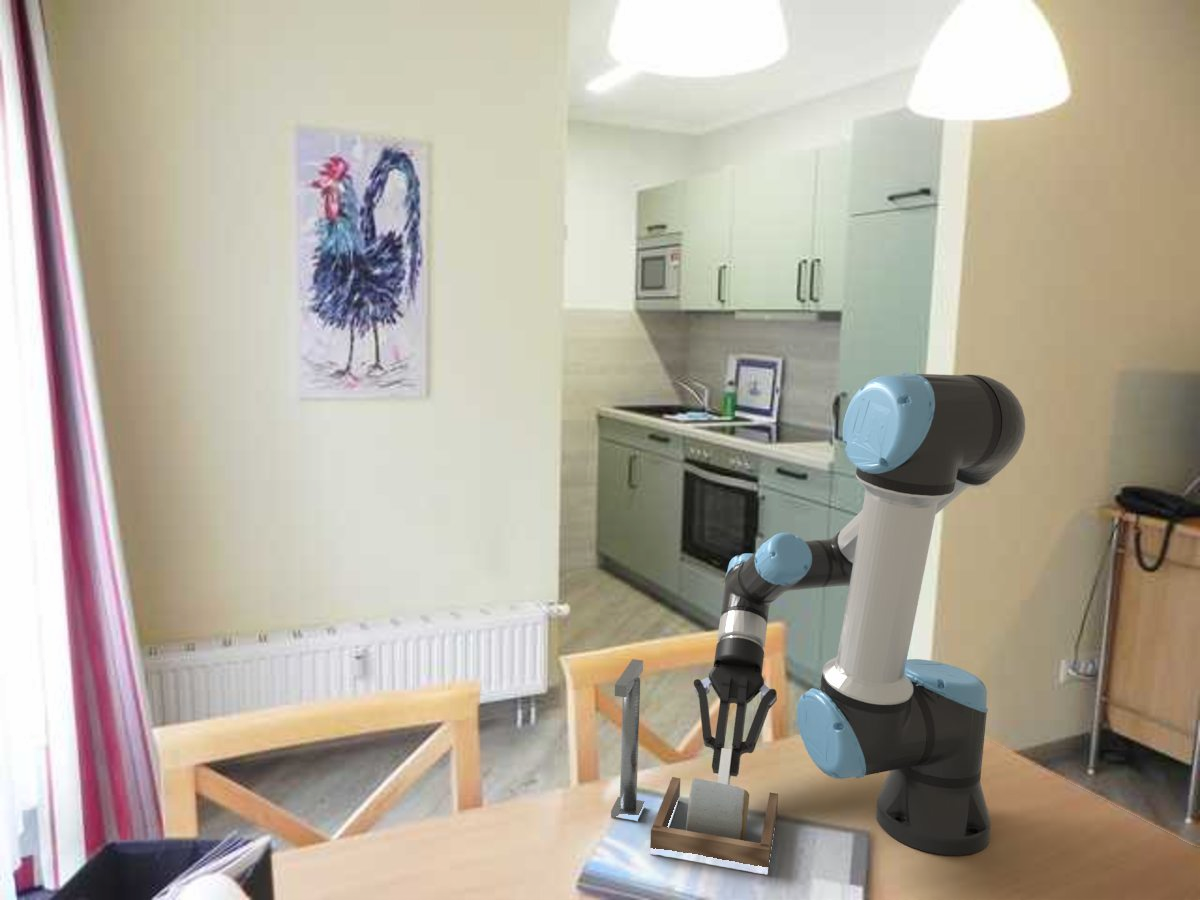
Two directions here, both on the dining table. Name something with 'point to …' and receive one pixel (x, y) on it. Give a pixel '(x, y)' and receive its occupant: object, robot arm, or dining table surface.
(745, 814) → the grey upright rounded block
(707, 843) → the tray frame
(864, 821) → the dining table surface
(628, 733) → the t stake
